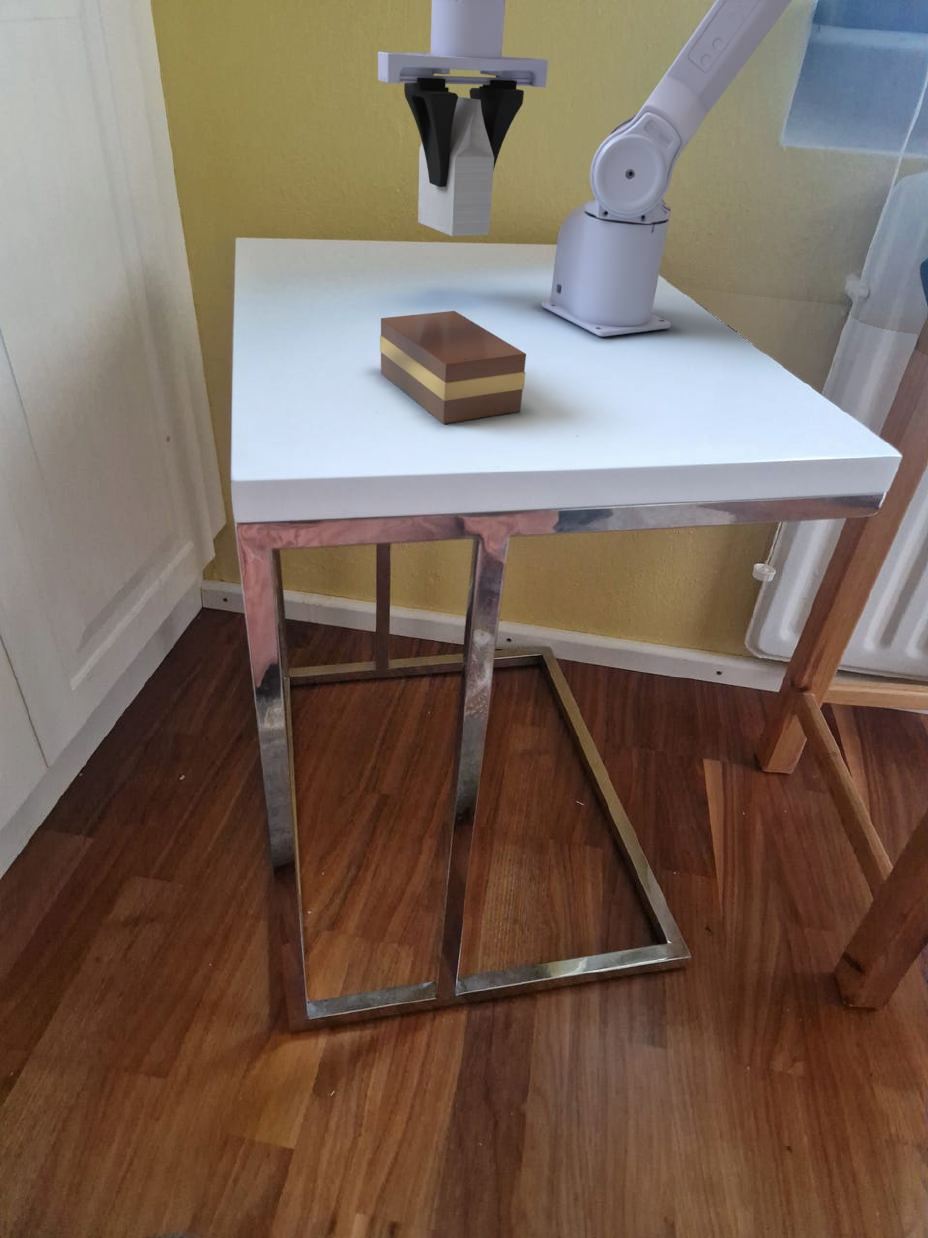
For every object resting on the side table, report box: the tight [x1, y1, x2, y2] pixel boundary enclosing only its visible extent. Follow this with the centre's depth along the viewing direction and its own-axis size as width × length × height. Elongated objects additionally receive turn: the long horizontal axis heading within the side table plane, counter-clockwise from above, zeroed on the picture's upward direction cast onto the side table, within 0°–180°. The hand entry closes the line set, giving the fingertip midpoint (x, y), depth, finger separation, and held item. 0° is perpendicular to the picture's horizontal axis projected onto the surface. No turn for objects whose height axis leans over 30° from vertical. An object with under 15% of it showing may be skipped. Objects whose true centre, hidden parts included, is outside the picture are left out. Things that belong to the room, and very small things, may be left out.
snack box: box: [379, 310, 527, 425], centre depth 58 cm, size 10×6×4 cm, turn 29°
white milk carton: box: [417, 96, 494, 237], centre depth 71 cm, size 4×7×10 cm, turn 28°
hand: (460, 184), depth 71 cm, fingers closed on white milk carton, 4 cm apart
